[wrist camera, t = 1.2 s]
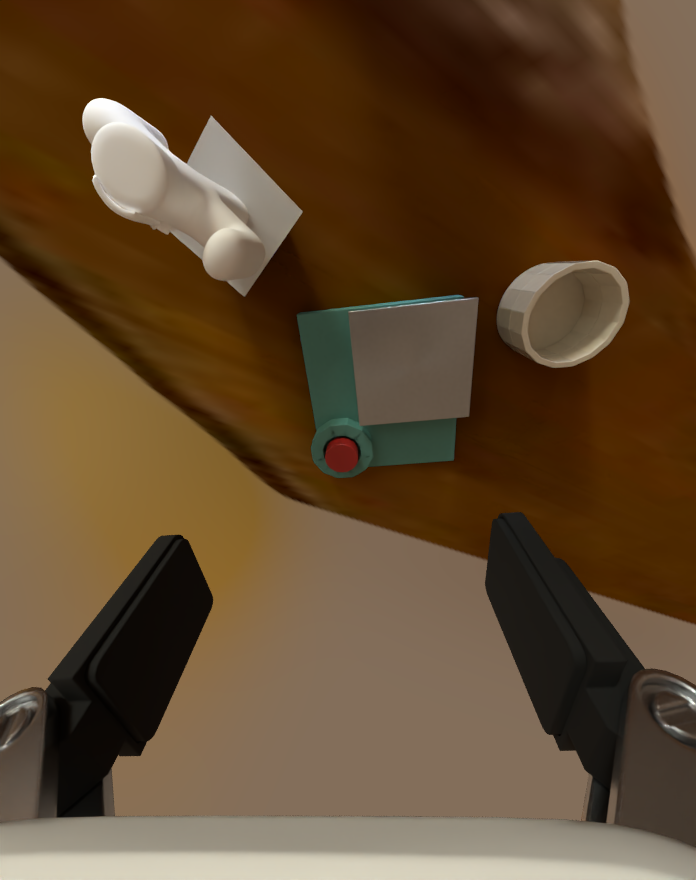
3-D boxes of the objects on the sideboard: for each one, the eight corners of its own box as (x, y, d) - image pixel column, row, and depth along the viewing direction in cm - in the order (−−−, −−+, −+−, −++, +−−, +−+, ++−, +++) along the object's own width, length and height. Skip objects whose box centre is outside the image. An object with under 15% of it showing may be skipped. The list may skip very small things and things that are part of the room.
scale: (292, 313, 28) (286, 318, 26) (459, 294, 27) (470, 297, 25) (319, 464, 36) (316, 479, 33) (450, 454, 35) (458, 469, 32)
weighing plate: (349, 307, 28) (348, 311, 25) (465, 294, 27) (478, 297, 24) (359, 411, 33) (359, 426, 30) (458, 402, 32) (469, 417, 29)
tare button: (324, 438, 31) (322, 445, 30) (356, 435, 31) (356, 443, 30) (328, 465, 33) (327, 473, 31) (359, 463, 33) (359, 471, 31)
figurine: (218, 123, 22) (19, -83, 9) (320, 230, 25) (279, 189, 12) (170, 215, 25) (-37, 157, 12) (267, 303, 28) (187, 334, 15)
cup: (501, 268, 26) (530, 268, 22) (594, 257, 26) (643, 255, 21) (492, 356, 30) (515, 371, 25) (573, 348, 29) (612, 362, 25)
